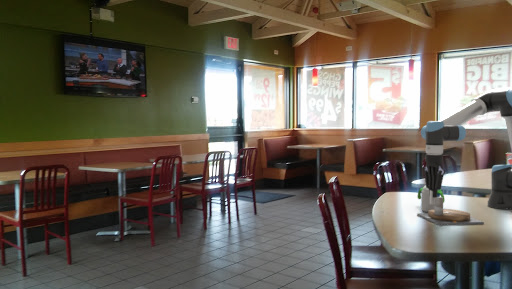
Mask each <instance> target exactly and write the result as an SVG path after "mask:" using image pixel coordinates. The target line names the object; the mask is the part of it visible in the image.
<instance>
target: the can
mask: <svg viewBox="0 0 512 289" xmlns="http://www.w3.org/2000/svg"><path fill="white" fill-rule="evenodd" d="M422 188H423V187H422ZM420 200H421V203H420V204H421V205H420V206H421V211H422V213H423V212H424V213H428V211H429V210H432V209H435V204H432V205H431V204H430V196H429V189H428V188H423V190H422V195H421V199H420Z"/></svg>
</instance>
